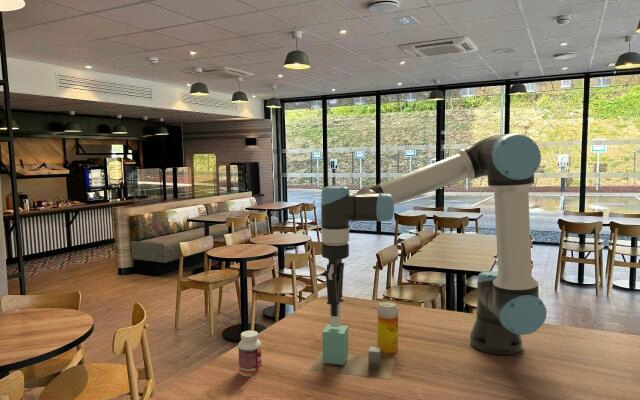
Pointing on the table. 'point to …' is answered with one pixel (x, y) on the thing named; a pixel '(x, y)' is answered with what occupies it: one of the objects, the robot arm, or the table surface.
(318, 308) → the table surface
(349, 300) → the table surface
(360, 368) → the board
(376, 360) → the short post
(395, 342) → the beer can
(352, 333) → the table surface
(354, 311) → the table surface
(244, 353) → the pill bottle
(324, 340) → the mint green toy brick
